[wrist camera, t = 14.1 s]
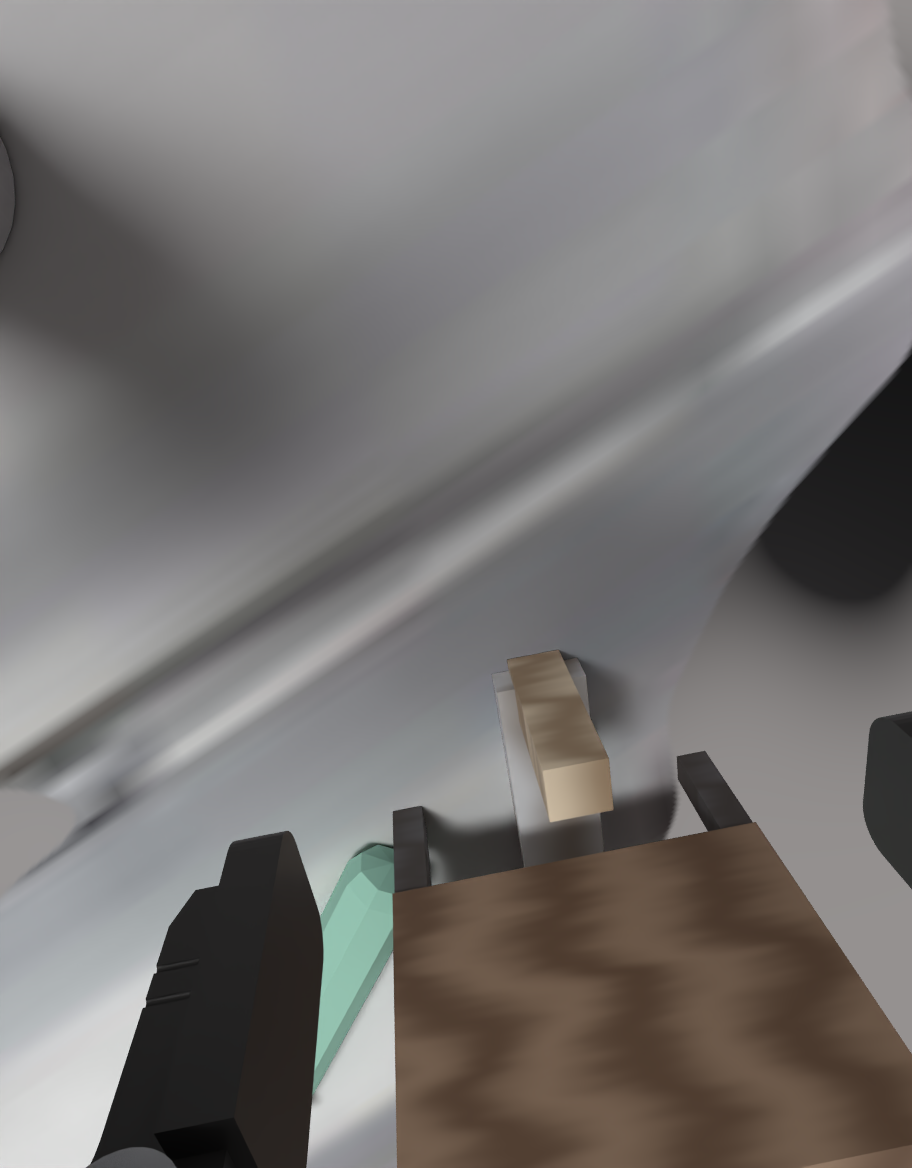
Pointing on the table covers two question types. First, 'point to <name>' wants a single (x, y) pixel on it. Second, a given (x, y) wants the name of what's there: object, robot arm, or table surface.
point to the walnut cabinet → (637, 1011)
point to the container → (353, 946)
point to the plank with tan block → (552, 758)
